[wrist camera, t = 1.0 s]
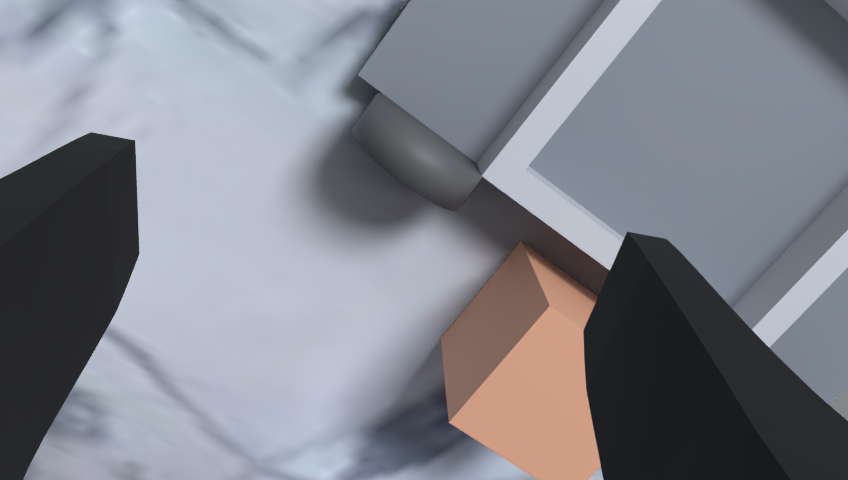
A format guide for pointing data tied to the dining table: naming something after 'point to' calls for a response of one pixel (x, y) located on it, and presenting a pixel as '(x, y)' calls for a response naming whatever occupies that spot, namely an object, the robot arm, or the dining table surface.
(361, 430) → the dining table surface
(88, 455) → the dining table surface
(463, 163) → the chassis
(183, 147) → the dining table surface
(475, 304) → the light orange block
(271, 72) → the dining table surface
